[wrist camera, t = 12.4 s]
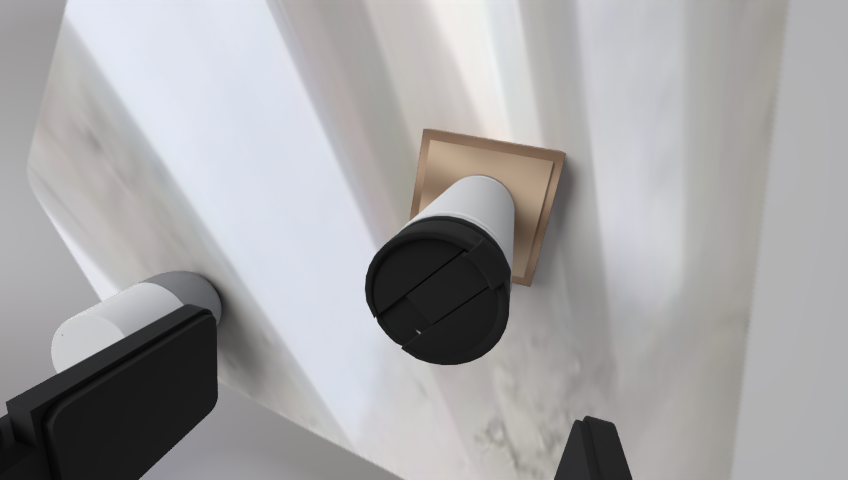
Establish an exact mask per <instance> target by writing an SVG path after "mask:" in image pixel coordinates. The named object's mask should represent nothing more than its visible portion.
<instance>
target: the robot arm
mask: <svg viewBox="0 0 848 480" xmlns="http://www.w3.org/2000/svg"><path fill="white" fill-rule="evenodd" d="M217 398H218V381H217V327H216V319H215V317H213V313H212V312H211V310H209V309H207V308H203V307H200V306H196V305H192V304H186V305H184V306H182V307H180V308H178V309H176V310H174V311H173V312H171V313H169V314H167V315H165V316H163V317H162V318H160V319H158V320H156V321H154V322H152V323H150V324H149V325H147V326H145V327H143V328H141V329H139V330H138V331H136V332H134V333H132V334H130V335H128V336H127V337H125V338H123V339H121V340H119V341H117V342H116V343H114V344H112V345H110V346H108V347H106V348H104V349H103V350H101V351H99V352H97V353H95V354H93V355H92V356H90V357H88V358H86V359H84V360H82V361H81V362H79V363H77V364H75V365H73V366H71V367H70V368H68V369H66V370H64V371H62V372H60V373H59V374H57V375H55V376H53V377H51V378H49V379H47V380H46V381H44V382H42V383H40V384H38V385H36V386H35V387H33V388H31V389H29V390H27V391H25V392H24V393H22V394H20V395H18V396H16V397H14V398H13V399H11V400H9V401H7V402H6V406H7V410H8V414H7V415H5V416H3V417H1V418H0V480H139V479H140V478H141V477H142V476H143V475H144V474H145V473H146V472H147V471H148V470H149V469H150V468H151V467H152V466H153V465H155V463H157V462H158V461H159V460H160V459H161V458H162V457H163V456H164V455H165V454H166V453H167V452H168V451H170V449H172V447H174V446H175V445H176V444H177V443H178V442H179V441H180V440H181V439H182V438H183V437H184V436H185V435H187V434H188V433H189V432H190V431H191V430H192V429H193V428H194V427H195V426H196V425H197V424H198V423H199V422H200V421H201V420H203V419H204V418H205V417H206V416H207V415H208V414H209V413H210V412H211V411H212V410H213V408H214V407H215V405H216V402H217ZM554 480H632V476H631V473H630V470H629V467H628V464H627V461H626V458H625V455H624V452H623V448H622V445H621V442H620V439H619V436H618V433H617V430H616V427H615V425H614V424H613V423H612V422H608V421H604V420H601V419H597V418H594V417H590V416H585V418H584V419H583V421H580V420H575V422H574V424H573V427H572V429H571V432H570V435H569V438H568V441H567V444H566V447H565V449H564V452H563V455H562V458H561V461H560V464H559V467H558V469H557V472H556V475H555V478H554Z"/></svg>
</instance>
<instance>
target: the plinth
mask: <svg viewBox="0 0 848 480" xmlns="http://www.w3.org/2000/svg"><path fill="white" fill-rule="evenodd" d="M565 154H566V153H564V152H562V151H557V150H551V149H545V148H539V147H534V146H528V145H522V144H516V143H510V142H505V141H499V140H493V139H487V138H481V137H476V136H470V135H464V134H458V133H452V132H447V131H441V130H435V129H423V136H422V142H421V149H420V156H419V162H418V169H417V175H416V182H415V189H414V195H413V202H412V208H411V215H410V221H411V220H412V219H413V218H414V217H416V216H417V215H418V214H419V213H420V212H421V211H423V210H424V209H425V208H426V207H427V206H428V205H430V204H431V203H432V202H433V201H434V200H435V199H437V198H438V197H439V196H440V195H441V194H442V193H444V192H445V191H446V190H447V189H448V188H449V187H451V186H452V185H453V184H454V183H455V182H457V181H458V180H460V179H461V178H464V177H466V176H470V175H475V174H482V175H487V176H491V177H493V178H495V179H497V180H499V181H500V182H502V183H503V184H504V185H505V186H506V187H507V189H508V190H509V192H510V193H511V196H512V198H513V201H514V206H515V215H514V239H513V263H512V283H516V284H520V285H525V286H529V287H530V286H531V282H532V279H533V275H534V271H535V267H536V264H537V260H538V256H539V252H540V248H541V245H542V241H543V237H544V233H545V230H546V226H547V222H548V218H549V215H550V211H551V207H552V203H553V200H554V196H555V192H556V188H557V184H558V181H559V177H560V173H561V169H562V166H563V162H564V158H565Z"/></svg>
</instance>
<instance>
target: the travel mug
mask: <svg viewBox="0 0 848 480" xmlns="http://www.w3.org/2000/svg"><path fill="white" fill-rule="evenodd" d="M514 215H515V206H514V201H513V198H512V196H511V193H510V192H509V190H508V189H507V187H506V186H505V185H504V184H503V183H502V182H500V181H499V180H497V179H495V178H493V177H491V176H487V175H482V174H475V175H470V176H466V177H464V178H461V179H460V180H458V181H457V182H455V183H454V184H453V185H452V186H451V187H449V188H448V189H447V190H446V191H445V192H444V193H442V194H441V195H440V196H439V197H438V198H437V199H435V200H434V201H433V202H432V203H431V204H430V205H428V206H427V207H426V208H425V209H424V210H423V211H421V212H420V213H419V214H418V215H417V216H416V217H414V218H413V219H412V220H411V221H410V222H409V223H407V224H406V225H405V226H404V227H403V228H402V229H401V230H400V231H399V232H398V233H397V234H396V235H395V236H394V237H393V238H392V239H391V240H390V241H389V242H387V243H386V244H385V245H384V246H383V247H382V248H381V249H380V250H379V251H378V252H377V254H376V255H375V256H374V258H373V260H372V262H371V263H370V265H369V268H368V272H367V275H366V283H365V293H366V301H367V304H368V306H369V308H370V310H371V312H372V314H373V316H374V318H375V317H376V318H377V322H378V324H379V325H380V326H381V328H382V329H383V330H384V332H385V333H386V334H387V335H388V336H389V337H390V338H391V339H392V340H393V341H394V342H395V343H397V344H399V345H401V346H402V348H401V349H403V350H404V351H406V352H407V353H409V354H410V355H412V356H413V357H415V358H416V359H419V360H422V361H425V362H428V363H433V364H440V365H458V364H463V363H467V362H471V361H473V360H475V359H478V358H480V357H482V356H483V355H485V354H486V353H487V352H489V351H490V350H491V349H492V348H493V347H494V346H495V345H496V344H497V343H498V342H499V340H500V339H501V337H502V335H503V333H504V331H505V329H506V325H507V321H508V317H509V302H510V292H511V287H512V263H513V239H514Z"/></svg>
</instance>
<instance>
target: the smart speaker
mask: <svg viewBox="0 0 848 480" xmlns="http://www.w3.org/2000/svg"><path fill="white" fill-rule="evenodd" d="M186 304H192V305H196V306H200V307H203V308H207V309H209V310H211V312H212V313H213V317H215V319H216V327H217V325H218V323H219V321H220V318H221V312H222V308H221V302H220V299H219V296H218V294H217V292H216V290H215V289H214V288H213V286H212V285H211V284H210V283H209V282H208V281H207V280H206V279H204V278H203V277H201V276H200V275H198V274H195V273H192V272H187V271H172V272H166V273H162V274H159V275H156V276H153V277H151V278H149V279H146V280H144V281H142V282H140V283H138V284H136V285H134V286H132V287H130V288H128V289H126V290H124V291H122V292H120V293H118V294H116V295H114V296H112V297H110V298H108V299H106V300H105V301H103V302H101V303H99V304H97V305H95V306H93V307H92V308H89V309H87V310H85V311H83V312H81V313H79V314H78V315H76V316H74V317H72V318H70V319H68V320H67V321H65V322H64V323H63V324H62V325H61V326H60V327H59V329H58V330H57V331H56V333H55V336H54V338H53V341H52V349H51V350H52V360H53V364H54V367H55V369H56V371H57V373H58V374H59V373H60V372H62V371H64V370H66V369H68V368H70V367H71V366H73V365H75V364H77V363H79V362H81V361H82V360H84V359H86V358H88V357H90V356H92V355H93V354H95V353H97V352H99V351H101V350H103V349H104V348H106V347H108V346H110V345H112V344H114V343H116V342H117V341H119V340H121V339H123V338H125V337H127V336H128V335H130V334H132V333H134V332H136V331H138V330H139V329H141V328H143V327H145V326H147V325H149V324H150V323H152V322H154V321H156V320H158V319H160V318H162V317H163V316H165V315H167V314H169V313H171V312H173V311H174V310H176V309H178V308H180V307H182V306H184V305H186Z"/></svg>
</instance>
